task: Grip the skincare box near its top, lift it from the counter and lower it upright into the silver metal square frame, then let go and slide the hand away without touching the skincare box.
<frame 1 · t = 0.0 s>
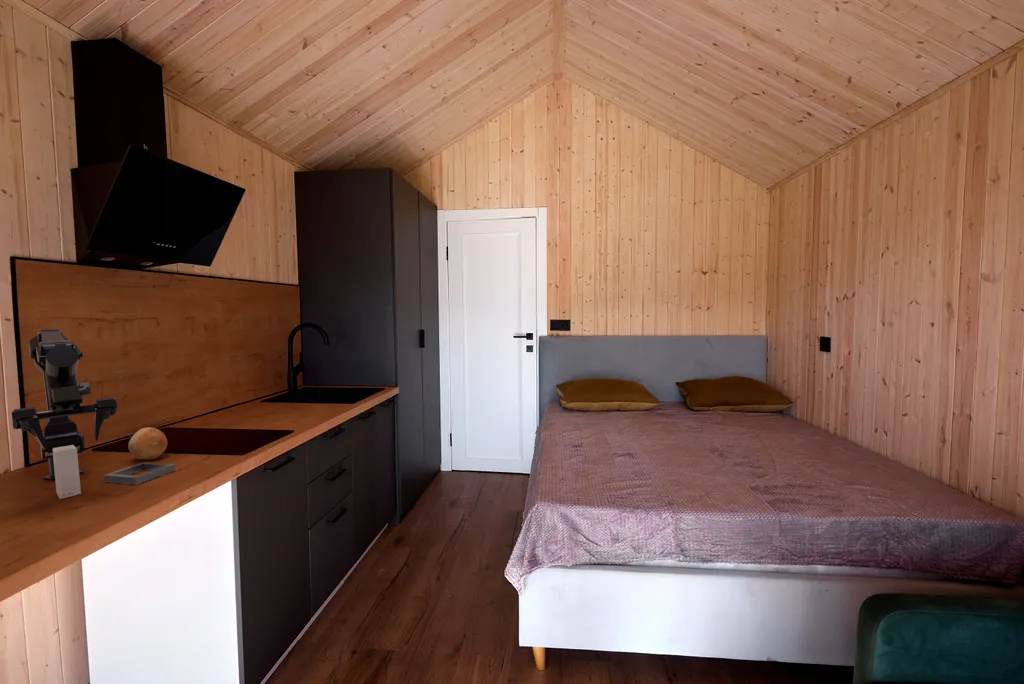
hand: (71, 444, 117), 15 cm above the worktop, tool tilted 35°, fingers open, 9 cm apart
silver metal square frame: (140, 476, 138), on the worktop
onion: (149, 459, 153), on the worktop
skincare box: (69, 494, 126), on the worktop
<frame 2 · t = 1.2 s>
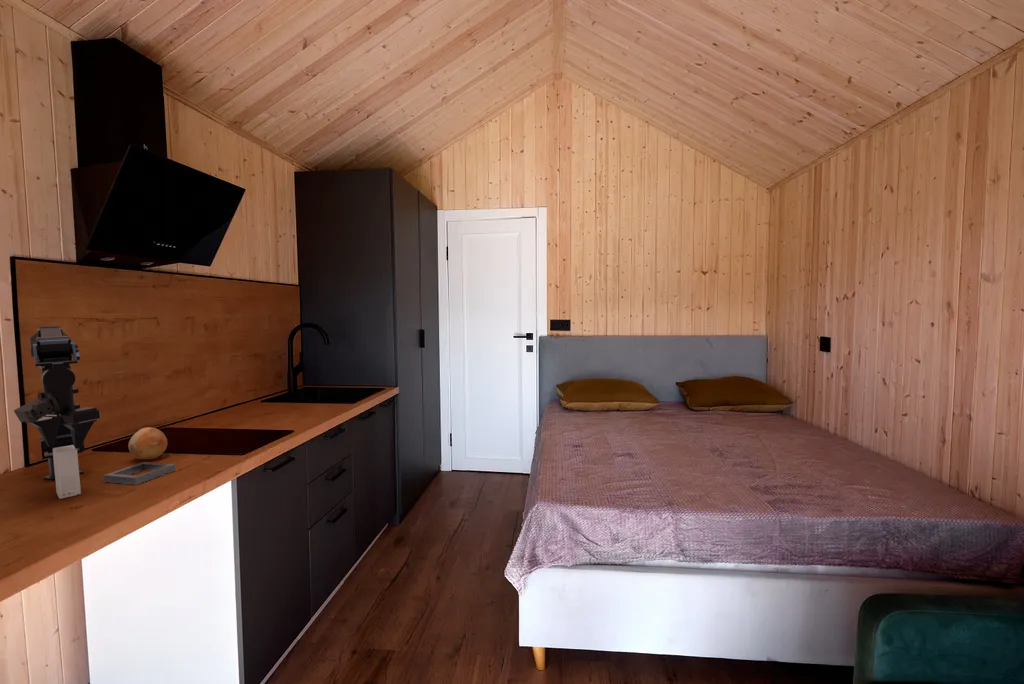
hand: (64, 447, 125), 12 cm above the worktop, tool pointing down, fingers open, 9 cm apart
nothing on the worktop moved.
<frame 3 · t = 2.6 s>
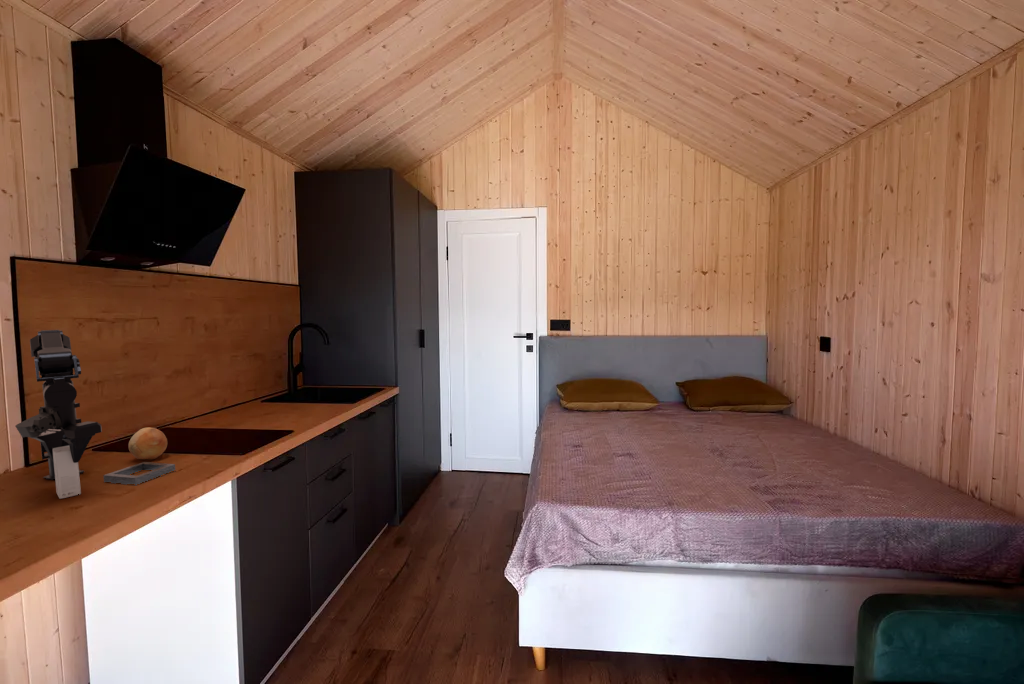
hand: (65, 461, 125), 9 cm above the worktop, tool pointing down, fingers closed on skincare box, 7 cm apart
skincare box: (69, 494, 126), on the worktop, touching gripper
everything else where it was.
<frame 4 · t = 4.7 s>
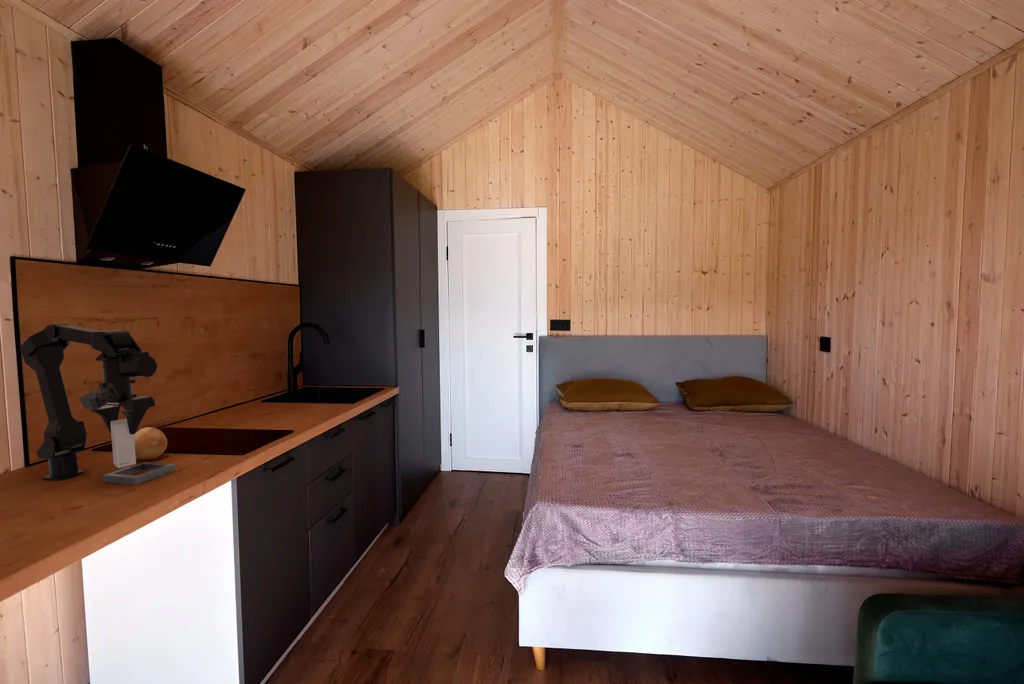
hand: (122, 433, 134), 13 cm above the worktop, tool pointing down, fingers closed on skincare box, 7 cm apart
skincare box: (125, 464, 135), point 4 cm above the worktop, touching gripper
everything else where it was.
when the fingers open (9 cm above the worktop, at t = 6.8 s): skincare box stays where it is, resting in silver metal square frame.
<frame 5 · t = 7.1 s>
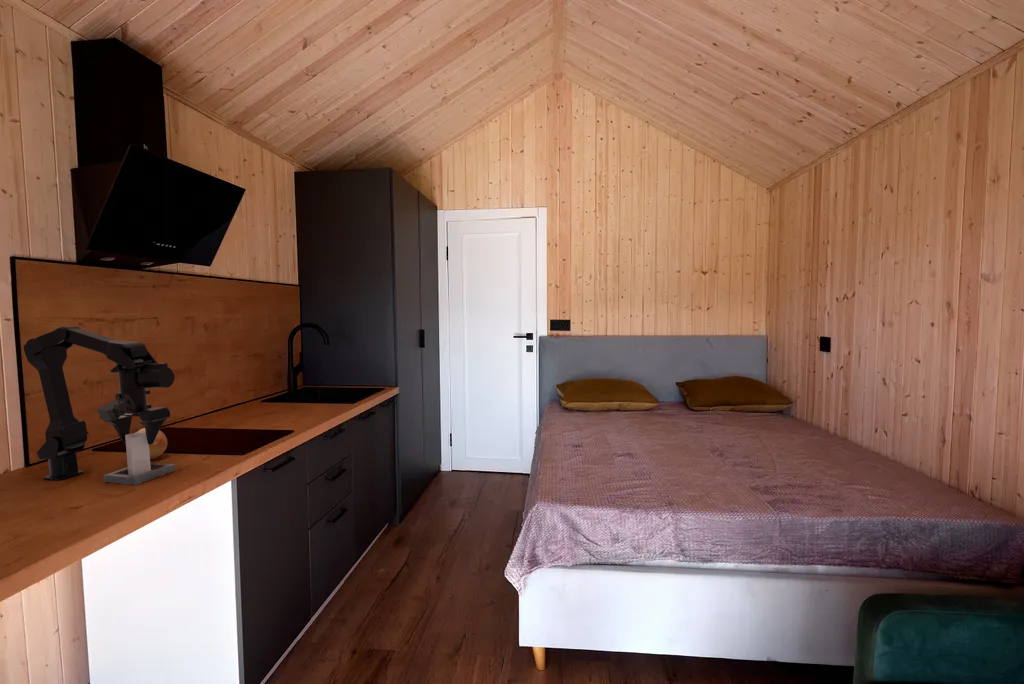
hand: (137, 443, 137), 9 cm above the worktop, tool pointing down, fingers open, 9 cm apart
skincare box: (140, 477, 138), resting in silver metal square frame
everything else where it was.
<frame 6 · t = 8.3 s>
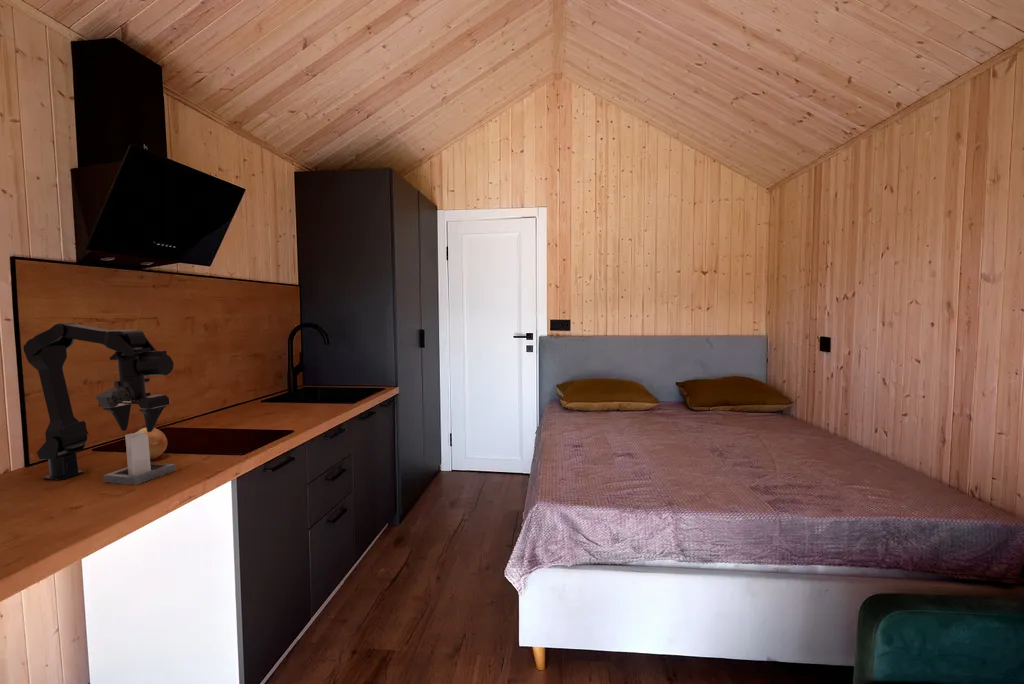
hand: (136, 431, 137), 13 cm above the worktop, tool pointing down, fingers open, 9 cm apart
nothing on the worktop moved.
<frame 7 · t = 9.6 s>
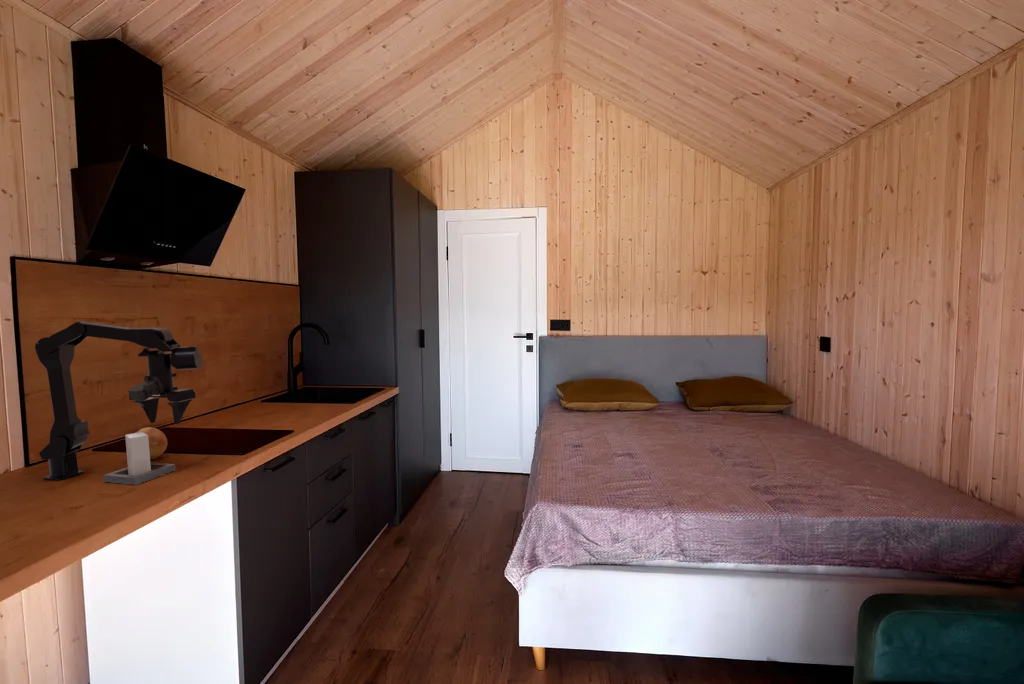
hand: (164, 423, 145), 13 cm above the worktop, tool pointing down, fingers open, 9 cm apart
nothing on the worktop moved.
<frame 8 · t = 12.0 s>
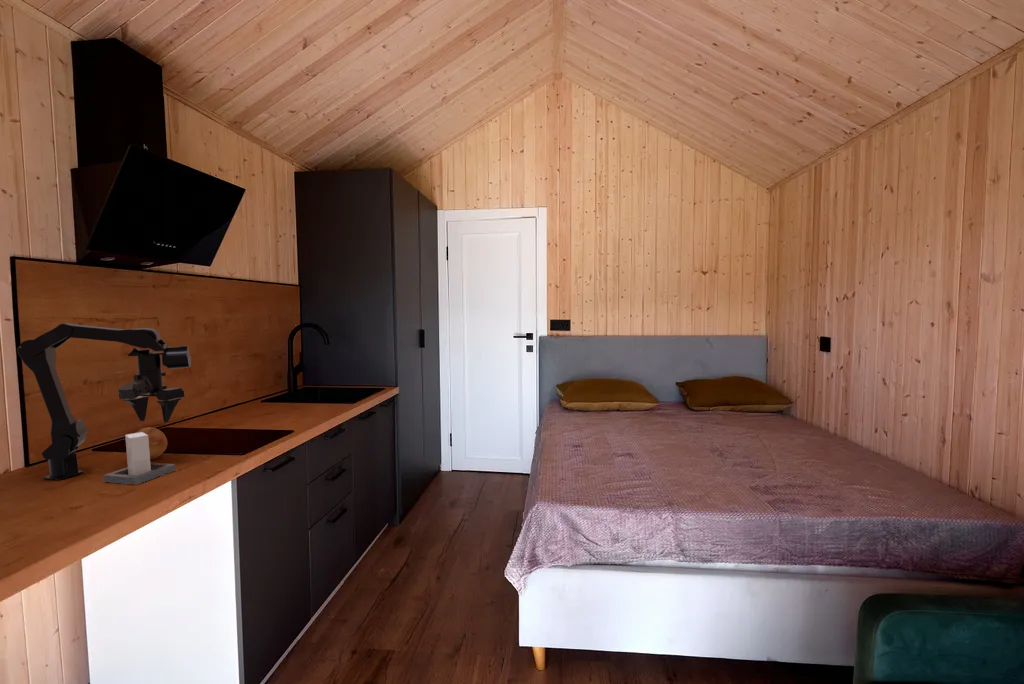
hand: (154, 421, 148), 13 cm above the worktop, tool pointing down, fingers open, 9 cm apart
nothing on the worktop moved.
at the end: skincare box 0.2 cm off-centre on the silver metal square frame, point 0.0 cm above the silver metal square frame's base; skincare box tilted 0°; the gripper is holding nothing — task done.
